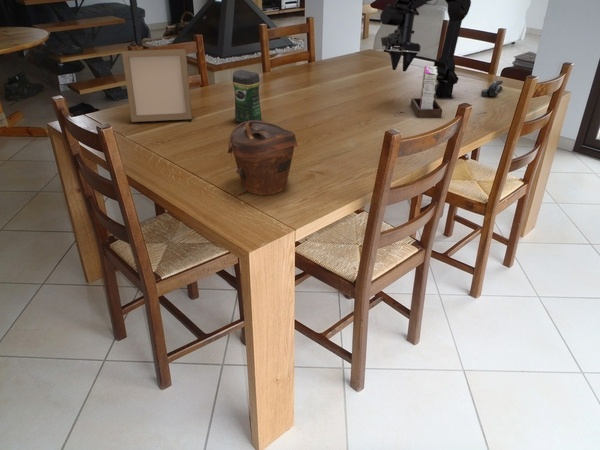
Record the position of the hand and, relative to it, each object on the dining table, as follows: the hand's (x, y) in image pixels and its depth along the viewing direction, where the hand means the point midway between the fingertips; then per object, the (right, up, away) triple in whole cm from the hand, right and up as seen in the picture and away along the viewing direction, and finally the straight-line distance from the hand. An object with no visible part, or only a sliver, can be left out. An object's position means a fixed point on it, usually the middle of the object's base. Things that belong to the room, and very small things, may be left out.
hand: (398, 70), depth 193 cm
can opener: (+47, -2, +26) cm, 54 cm away
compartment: (+11, -15, +5) cm, 19 cm away
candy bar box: (+11, -15, +5) cm, 19 cm away
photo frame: (-91, -18, -1) cm, 92 cm away
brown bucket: (-49, -48, -49) cm, 84 cm away
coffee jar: (-58, -21, -5) cm, 61 cm away
